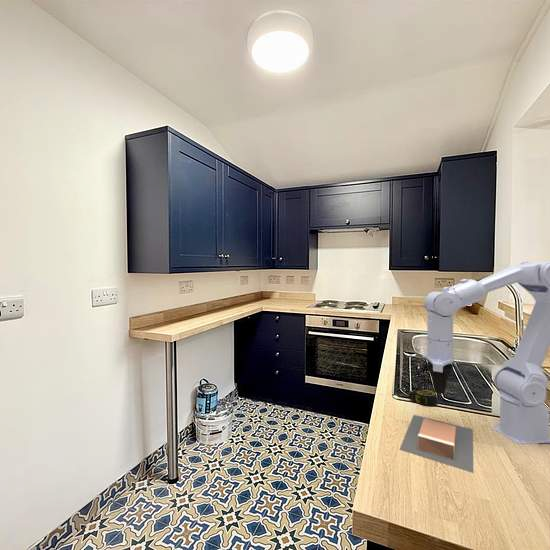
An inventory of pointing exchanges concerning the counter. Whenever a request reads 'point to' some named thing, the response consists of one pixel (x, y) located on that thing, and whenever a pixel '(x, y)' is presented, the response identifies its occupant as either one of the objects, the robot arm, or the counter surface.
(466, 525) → the counter surface
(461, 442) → the charcoal mat
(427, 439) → the salmon pink box
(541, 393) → the robot arm
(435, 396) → the tape measure
